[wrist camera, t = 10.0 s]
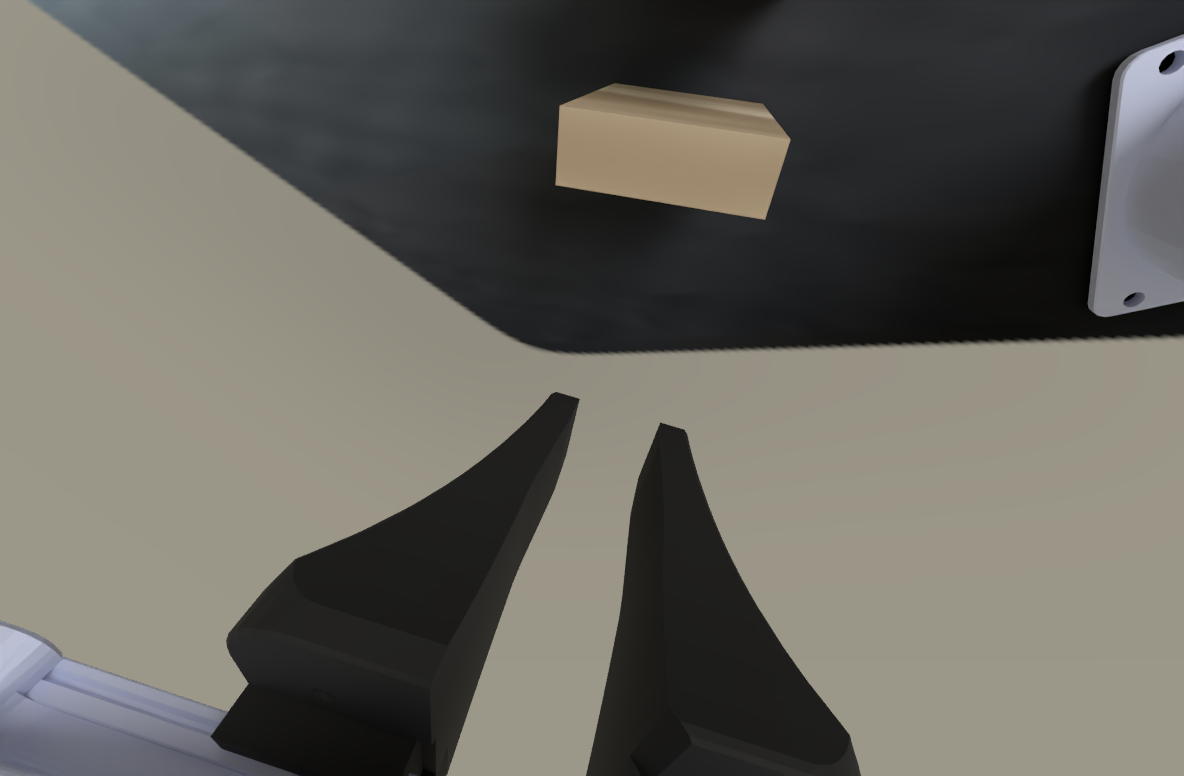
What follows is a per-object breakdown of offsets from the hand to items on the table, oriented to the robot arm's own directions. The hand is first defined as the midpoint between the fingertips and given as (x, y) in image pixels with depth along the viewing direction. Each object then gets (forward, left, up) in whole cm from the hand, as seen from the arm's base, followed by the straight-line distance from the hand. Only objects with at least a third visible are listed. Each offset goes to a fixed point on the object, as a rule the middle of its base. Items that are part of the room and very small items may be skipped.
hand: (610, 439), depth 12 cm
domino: (-3, -5, -9) cm, 11 cm away
